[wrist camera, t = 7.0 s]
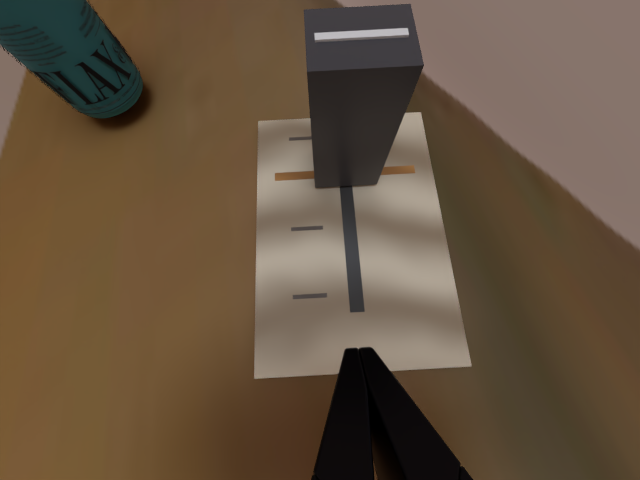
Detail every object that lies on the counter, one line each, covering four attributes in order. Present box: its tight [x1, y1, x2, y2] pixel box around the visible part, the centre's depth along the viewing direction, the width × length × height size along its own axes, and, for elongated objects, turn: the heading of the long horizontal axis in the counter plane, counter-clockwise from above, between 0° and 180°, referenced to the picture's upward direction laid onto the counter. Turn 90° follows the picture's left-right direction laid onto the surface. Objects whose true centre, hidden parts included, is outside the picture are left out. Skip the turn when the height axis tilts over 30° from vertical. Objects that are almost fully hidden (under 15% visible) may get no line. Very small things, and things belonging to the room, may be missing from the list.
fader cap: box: [304, 4, 424, 188], centre depth 16 cm, size 4×5×10 cm
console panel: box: [254, 112, 471, 379], centre depth 19 cm, size 20×14×3 cm
